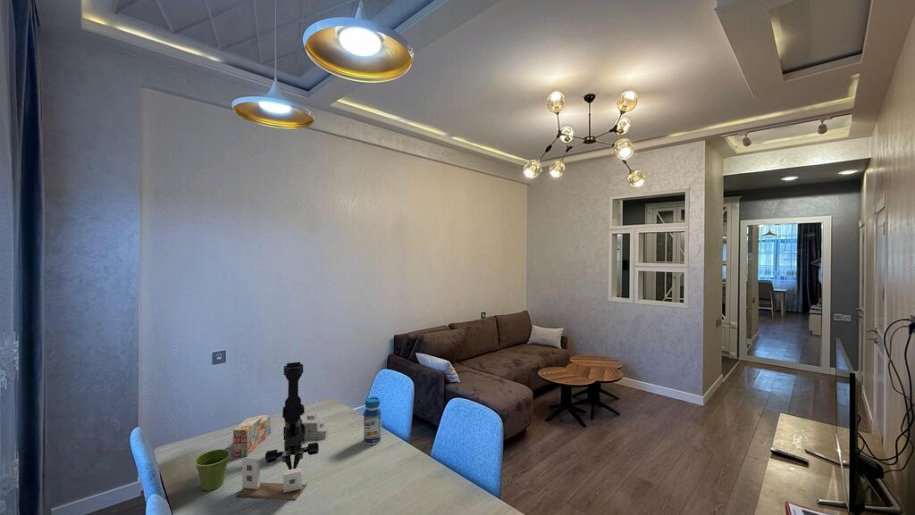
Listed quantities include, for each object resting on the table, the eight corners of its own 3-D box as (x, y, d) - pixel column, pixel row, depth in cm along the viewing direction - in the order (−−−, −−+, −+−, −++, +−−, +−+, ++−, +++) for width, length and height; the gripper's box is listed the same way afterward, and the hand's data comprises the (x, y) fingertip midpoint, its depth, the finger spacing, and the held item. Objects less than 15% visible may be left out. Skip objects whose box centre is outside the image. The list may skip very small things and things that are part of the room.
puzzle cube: (325, 439, 183) (325, 422, 182) (300, 439, 182) (300, 423, 182) (333, 427, 195) (332, 412, 194) (309, 427, 194) (309, 412, 194)
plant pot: (203, 499, 138) (203, 469, 138) (188, 488, 144) (188, 459, 144) (237, 482, 148) (236, 454, 148) (221, 473, 154) (221, 445, 154)
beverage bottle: (385, 439, 182) (385, 398, 182) (372, 447, 175) (372, 404, 175) (372, 434, 187) (372, 394, 186) (359, 442, 179) (359, 400, 179)
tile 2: (245, 486, 145) (245, 458, 144) (259, 487, 144) (259, 459, 144) (241, 489, 142) (241, 461, 142) (256, 490, 142) (256, 462, 141)
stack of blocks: (258, 433, 188) (258, 408, 188) (271, 433, 188) (270, 408, 188) (233, 456, 167) (232, 429, 166) (247, 456, 167) (247, 429, 166)
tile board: (249, 483, 148) (249, 481, 147) (306, 486, 146) (306, 484, 146) (235, 496, 140) (235, 495, 140) (295, 499, 138) (295, 498, 138)
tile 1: (283, 489, 142) (283, 470, 137) (301, 485, 144) (301, 467, 140) (283, 494, 140) (283, 476, 136) (301, 490, 143) (301, 472, 138)
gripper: (265, 430, 141) (262, 476, 131) (318, 422, 148) (319, 464, 138) (267, 441, 149) (265, 485, 139) (317, 432, 156) (318, 473, 146)
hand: (292, 476), depth 140 cm, fingers closed, pressing on tile 1
